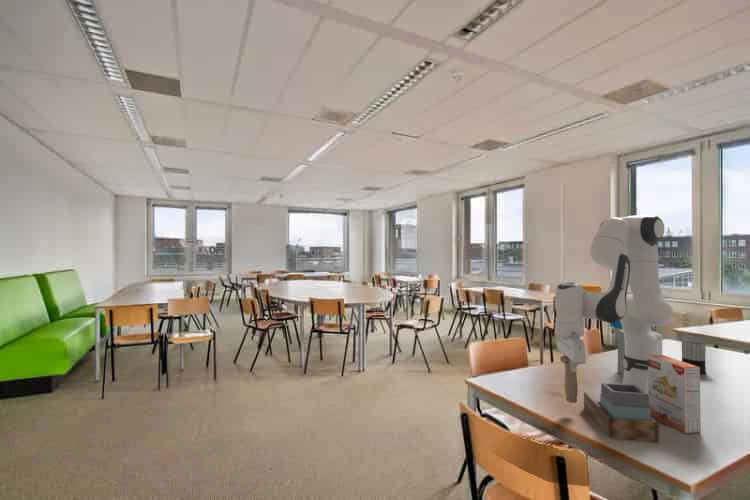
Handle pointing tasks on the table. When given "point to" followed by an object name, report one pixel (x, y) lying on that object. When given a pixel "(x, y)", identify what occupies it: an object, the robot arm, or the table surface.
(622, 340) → the hard drive box
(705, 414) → the table surface
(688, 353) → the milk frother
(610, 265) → the robot arm
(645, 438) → the bay
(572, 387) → the handle
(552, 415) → the table surface
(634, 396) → the box
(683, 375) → the cracker box
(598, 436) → the table surface
